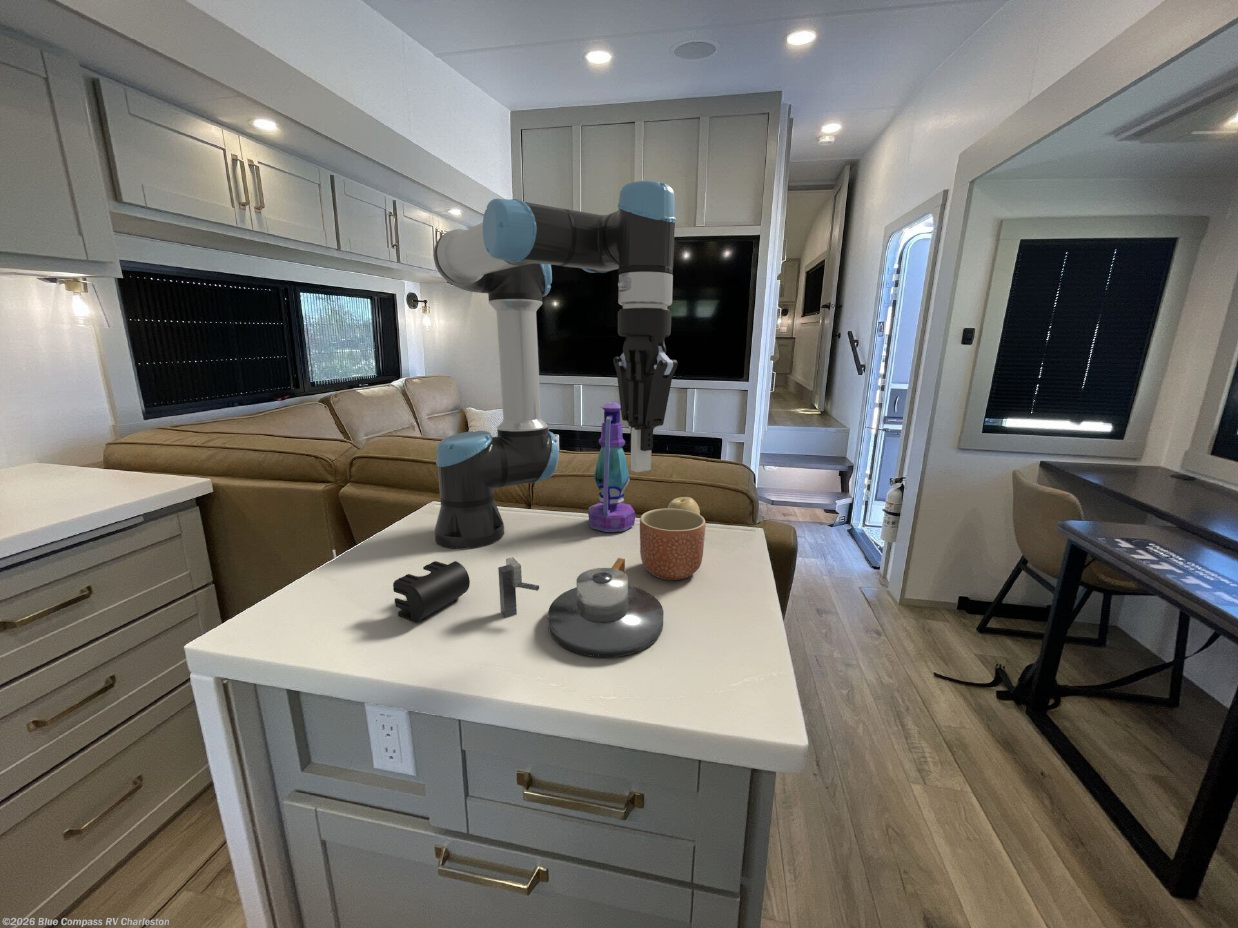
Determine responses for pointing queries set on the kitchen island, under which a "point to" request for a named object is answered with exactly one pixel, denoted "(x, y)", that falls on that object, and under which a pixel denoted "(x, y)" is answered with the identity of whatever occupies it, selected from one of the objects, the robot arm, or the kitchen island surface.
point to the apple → (685, 504)
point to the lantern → (611, 477)
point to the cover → (602, 594)
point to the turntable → (607, 624)
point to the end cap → (430, 589)
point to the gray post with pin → (511, 586)
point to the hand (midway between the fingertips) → (640, 469)
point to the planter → (672, 542)
